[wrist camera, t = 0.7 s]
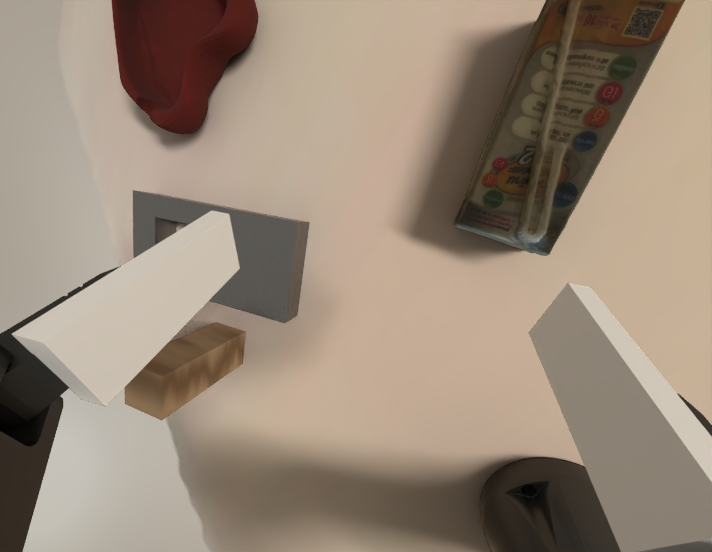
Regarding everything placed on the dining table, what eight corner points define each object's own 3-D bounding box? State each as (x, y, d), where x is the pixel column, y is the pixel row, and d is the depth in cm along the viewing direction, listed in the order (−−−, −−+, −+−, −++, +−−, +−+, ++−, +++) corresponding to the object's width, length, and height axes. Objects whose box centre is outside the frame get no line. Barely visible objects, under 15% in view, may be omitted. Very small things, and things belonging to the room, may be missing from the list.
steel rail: (297, 315, 34) (284, 323, 31) (155, 275, 40) (133, 278, 37) (309, 222, 32) (297, 221, 29) (155, 193, 37) (132, 190, 34)
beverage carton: (448, 227, 28) (453, 225, 21) (534, 16, 23) (573, -65, 17) (526, 253, 26) (557, 259, 20) (636, 32, 21) (721, -50, 15)
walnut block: (242, 363, 38) (161, 420, 26) (214, 353, 39) (125, 403, 28) (245, 331, 37) (162, 376, 25) (216, 322, 38) (124, 361, 27)
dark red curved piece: (189, -71, 30) (144, -128, 25) (283, 23, 29) (254, -18, 24) (125, 70, 36) (78, 45, 31) (202, 154, 34) (165, 141, 30)
